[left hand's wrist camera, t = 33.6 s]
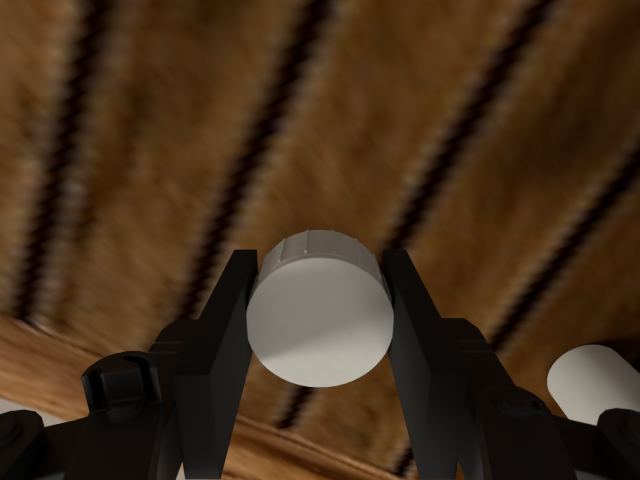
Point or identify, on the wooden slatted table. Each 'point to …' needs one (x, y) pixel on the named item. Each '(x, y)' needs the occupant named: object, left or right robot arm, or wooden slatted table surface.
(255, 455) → the wooden slatted table surface
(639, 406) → the bottle
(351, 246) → the cap
